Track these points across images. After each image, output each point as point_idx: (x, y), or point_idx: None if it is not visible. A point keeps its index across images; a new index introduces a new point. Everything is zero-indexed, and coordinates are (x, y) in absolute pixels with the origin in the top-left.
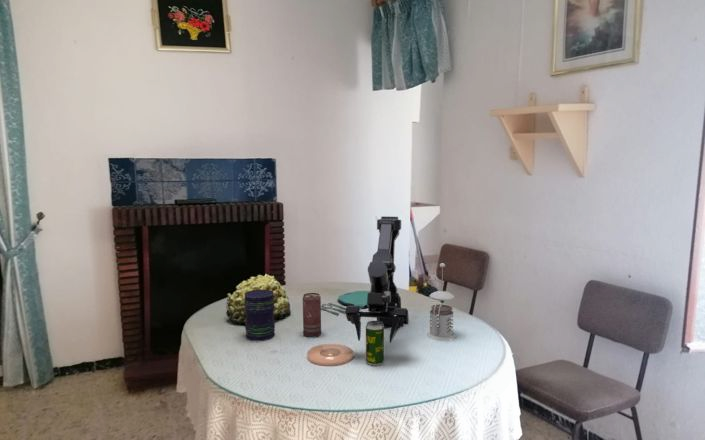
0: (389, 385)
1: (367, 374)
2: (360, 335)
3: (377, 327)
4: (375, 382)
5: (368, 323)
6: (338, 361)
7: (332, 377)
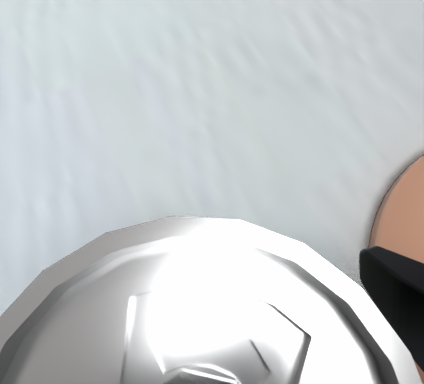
0: (6, 91)
1: (170, 154)
2: (415, 355)
3: (54, 279)
4: (89, 89)
5: (356, 367)
6: (403, 177)
7: (323, 45)
